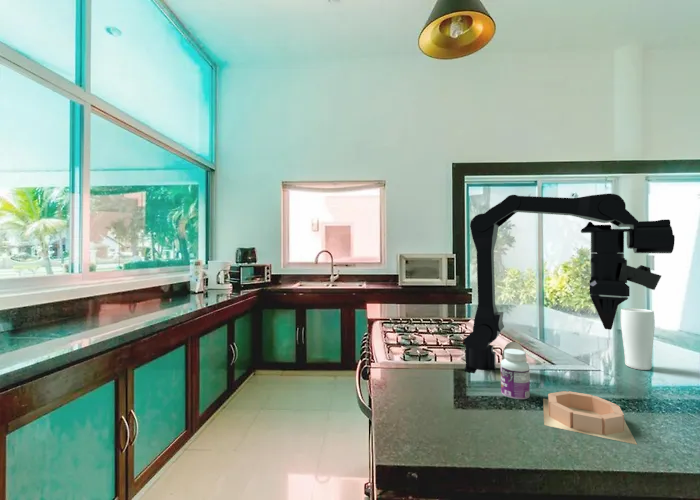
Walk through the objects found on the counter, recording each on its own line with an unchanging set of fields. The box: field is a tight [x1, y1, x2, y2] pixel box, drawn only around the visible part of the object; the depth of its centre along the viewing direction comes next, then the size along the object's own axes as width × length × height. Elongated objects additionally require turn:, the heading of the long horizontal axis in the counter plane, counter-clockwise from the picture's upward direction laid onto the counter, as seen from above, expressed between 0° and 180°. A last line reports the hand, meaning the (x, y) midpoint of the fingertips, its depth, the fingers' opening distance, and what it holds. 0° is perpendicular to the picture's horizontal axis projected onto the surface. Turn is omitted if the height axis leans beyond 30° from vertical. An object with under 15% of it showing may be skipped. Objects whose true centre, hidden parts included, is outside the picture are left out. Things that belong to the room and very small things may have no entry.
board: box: [542, 398, 638, 446], centre depth 58 cm, size 12×12×1 cm
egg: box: [501, 341, 528, 363], centre depth 83 cm, size 6×6×8 cm
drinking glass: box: [620, 307, 656, 371], centre depth 88 cm, size 7×7×15 cm
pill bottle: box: [500, 349, 531, 400], centre depth 69 cm, size 5×5×10 cm
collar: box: [547, 390, 625, 435], centre depth 58 cm, size 10×10×2 cm
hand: (607, 325), depth 72 cm, fingers open, 9 cm apart
